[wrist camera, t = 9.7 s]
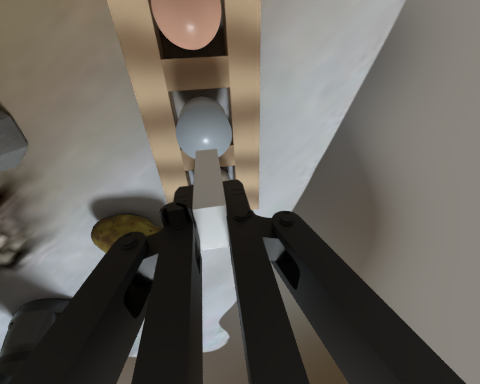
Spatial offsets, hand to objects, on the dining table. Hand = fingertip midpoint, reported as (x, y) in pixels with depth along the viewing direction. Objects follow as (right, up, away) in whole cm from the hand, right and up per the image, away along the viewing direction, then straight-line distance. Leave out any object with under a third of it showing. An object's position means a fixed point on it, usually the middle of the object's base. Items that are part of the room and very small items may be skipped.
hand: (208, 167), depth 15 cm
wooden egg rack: (-3, +8, +13) cm, 16 cm away
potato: (-15, -8, +22) cm, 28 cm away
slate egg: (-2, +7, +10) cm, 12 cm away
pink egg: (-3, +16, +6) cm, 17 cm away
